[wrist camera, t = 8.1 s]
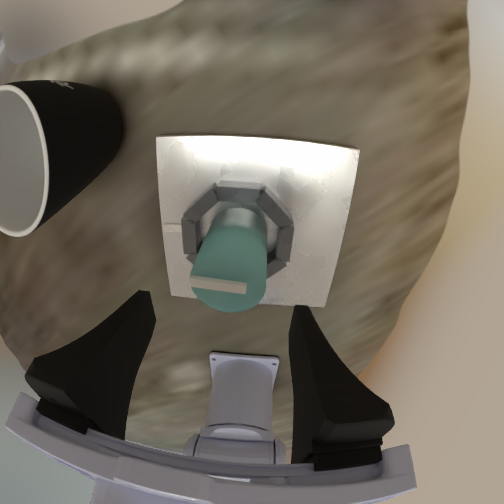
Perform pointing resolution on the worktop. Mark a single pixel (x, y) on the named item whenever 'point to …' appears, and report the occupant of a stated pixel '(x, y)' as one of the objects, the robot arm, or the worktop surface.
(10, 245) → the worktop surface
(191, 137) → the panel
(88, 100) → the mug
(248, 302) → the knob
